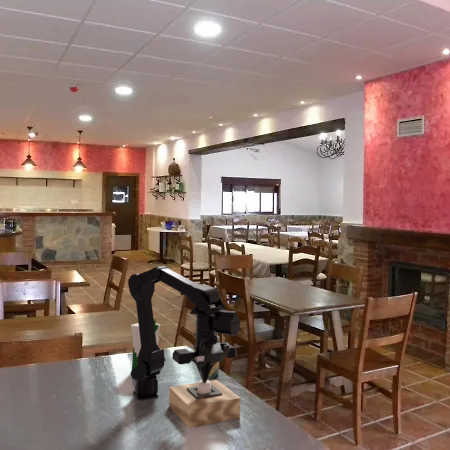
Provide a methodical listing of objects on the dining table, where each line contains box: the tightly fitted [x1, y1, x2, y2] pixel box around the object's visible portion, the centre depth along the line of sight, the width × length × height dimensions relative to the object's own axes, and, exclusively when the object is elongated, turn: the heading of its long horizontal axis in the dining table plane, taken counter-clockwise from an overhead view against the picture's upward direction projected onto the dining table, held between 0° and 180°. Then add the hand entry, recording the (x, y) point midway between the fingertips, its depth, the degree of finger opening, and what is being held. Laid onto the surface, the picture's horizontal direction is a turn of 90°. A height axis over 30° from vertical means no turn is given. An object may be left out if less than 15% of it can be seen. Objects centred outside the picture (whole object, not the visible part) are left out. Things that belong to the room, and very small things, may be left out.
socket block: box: [168, 379, 241, 429], centre depth 145 cm, size 16×16×7 cm
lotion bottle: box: [207, 331, 221, 381], centre depth 174 cm, size 6×6×20 cm
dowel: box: [197, 379, 211, 395], centre depth 145 cm, size 4×4×6 cm
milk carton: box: [130, 318, 161, 372], centre depth 177 cm, size 9×9×20 cm
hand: (204, 382), depth 145 cm, fingers closed, pressing on dowel
